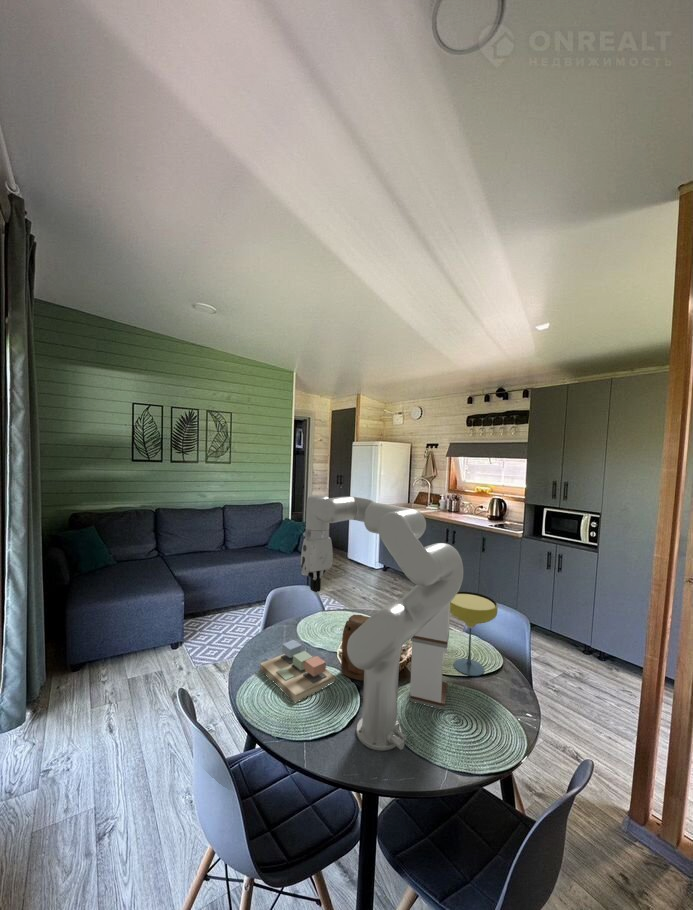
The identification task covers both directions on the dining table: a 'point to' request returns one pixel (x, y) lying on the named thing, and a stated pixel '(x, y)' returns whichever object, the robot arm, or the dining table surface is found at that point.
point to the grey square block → (291, 648)
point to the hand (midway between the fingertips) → (315, 590)
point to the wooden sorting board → (294, 677)
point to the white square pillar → (430, 661)
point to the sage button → (301, 659)
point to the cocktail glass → (472, 623)
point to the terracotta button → (315, 666)
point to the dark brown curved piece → (346, 664)
